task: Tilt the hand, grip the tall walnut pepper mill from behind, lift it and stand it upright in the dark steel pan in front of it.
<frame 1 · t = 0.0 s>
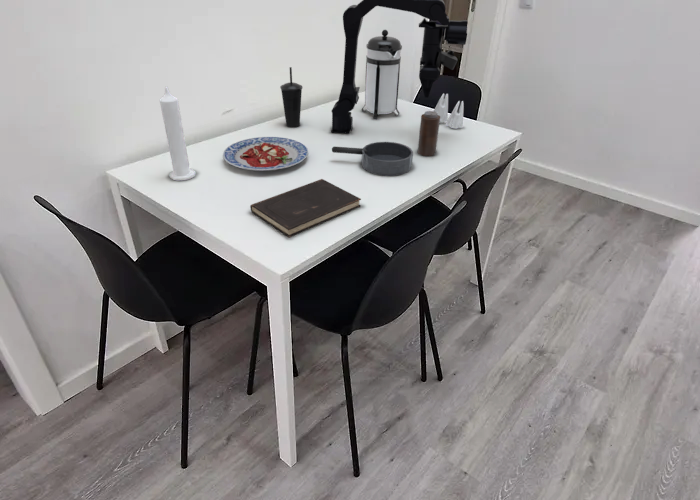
hand: (426, 93, 161), 15 cm above the table, tool pointing down, fingers open, 9 cm apart
drinking cup: (293, 125, 175), on the table
candle: (182, 176, 139), on the table
pepper mill: (426, 152, 156), on the table
shaker set: (446, 125, 179), on the table
coffee press: (377, 113, 189), on the table
pan: (386, 165, 148), on the table
hardcover book: (306, 209, 124), on the table
ceramic plate: (266, 159, 150), on the table
pan handle: (349, 150, 147), point 3 cm above the table
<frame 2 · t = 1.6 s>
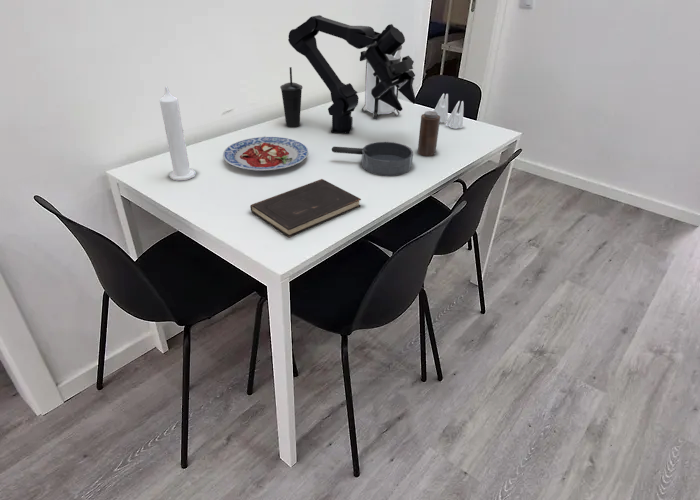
hand: (408, 106, 153), 13 cm above the table, tool tilted 45°, fingers open, 9 cm apart
nothing on the table moved.
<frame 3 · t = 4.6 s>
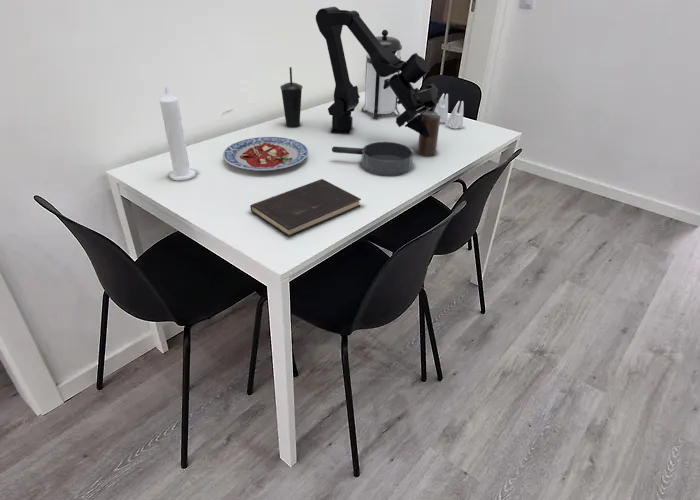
hand: (432, 134, 152), 7 cm above the table, tool tilted 45°, fingers closed on pepper mill, 6 cm apart
pepper mill: (426, 152, 156), on the table, touching gripper
everything else where it was.
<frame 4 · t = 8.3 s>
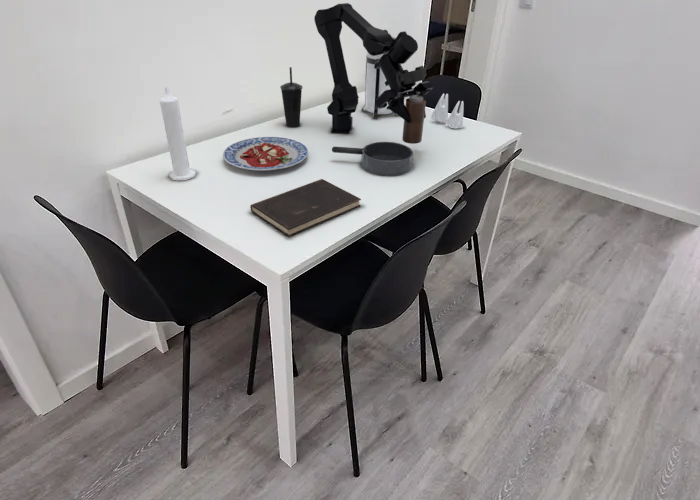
hand: (417, 120, 142), 13 cm above the table, tool tilted 45°, fingers closed on pepper mill, 6 cm apart
pepper mill: (411, 140, 147), point 7 cm above the table, touching gripper
everything else where it was.
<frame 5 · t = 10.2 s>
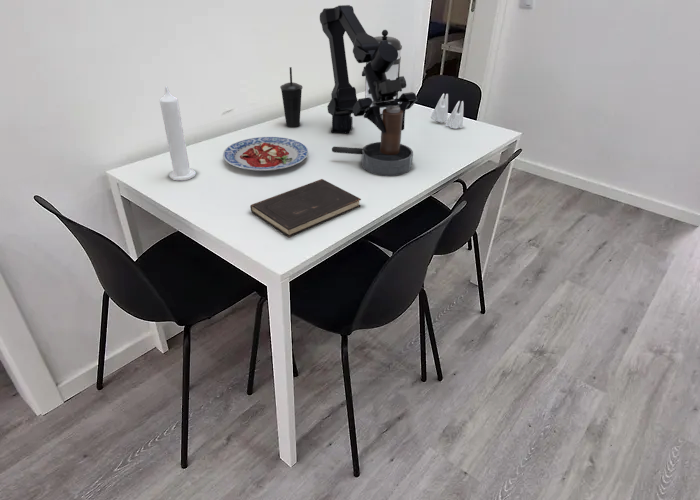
hand: (393, 131, 139), 12 cm above the table, tool tilted 45°, fingers closed on pepper mill, 6 cm apart
pepper mill: (389, 151, 144), point 5 cm above the table, touching gripper
everything else where it was.
when the fingers open (7 cm above the table, at t = 11.9 s): pepper mill stays where it is, resting on pan.
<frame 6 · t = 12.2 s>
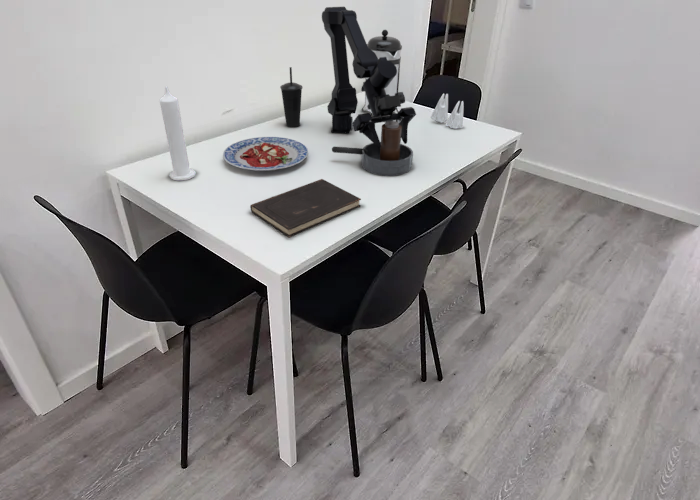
hand: (393, 145, 141), 7 cm above the table, tool tilted 45°, fingers open, 8 cm apart
pepper mill: (388, 164, 146), point 1 cm above the table, touching pan
everything else where it was.
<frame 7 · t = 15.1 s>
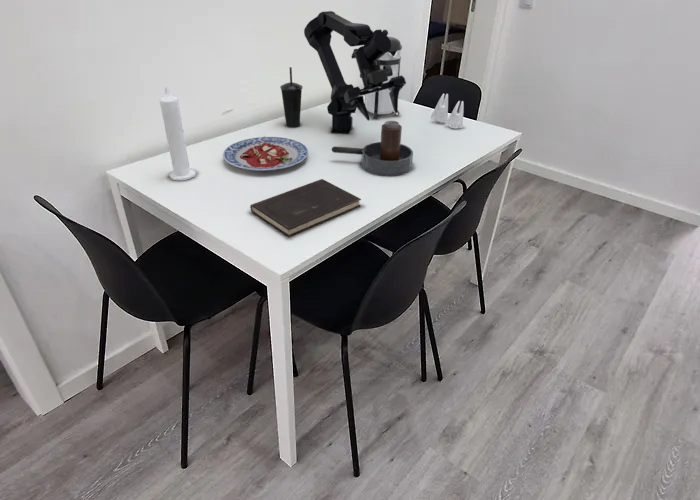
hand: (382, 116, 149), 12 cm above the table, tool tilted 35°, fingers open, 9 cm apart
nothing on the table moved.
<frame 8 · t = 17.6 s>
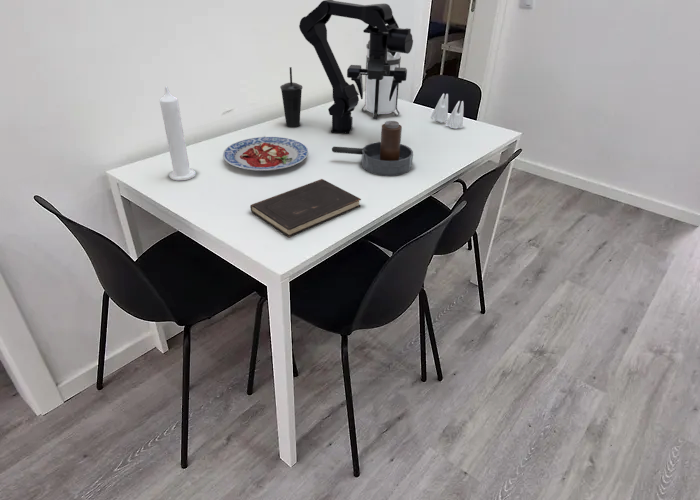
hand: (375, 99, 159), 13 cm above the table, tool pointing down, fingers open, 9 cm apart
nothing on the table moved.
at the end: pepper mill inside the target area in the pan (1.4 cm from its centre), point 0.6 cm above the pan's base; pepper mill tilted 0° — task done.
